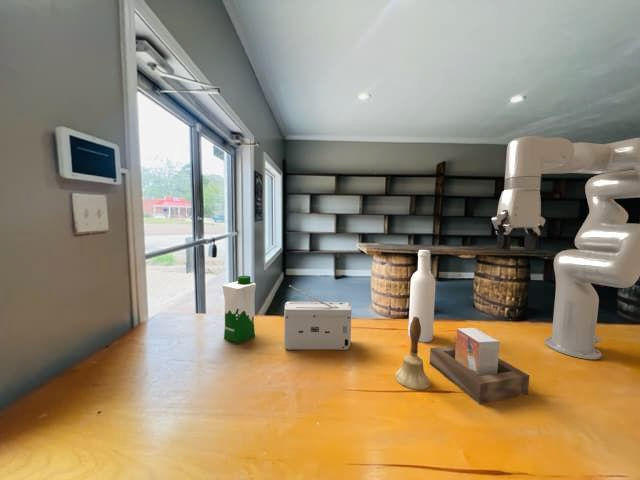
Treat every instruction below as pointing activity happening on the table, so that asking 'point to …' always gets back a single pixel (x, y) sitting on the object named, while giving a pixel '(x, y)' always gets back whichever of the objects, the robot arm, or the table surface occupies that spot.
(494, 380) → the well block
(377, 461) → the table surface
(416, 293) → the bottle
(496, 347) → the small box
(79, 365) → the table surface
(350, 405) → the table surface
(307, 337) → the stereo radio cassette player
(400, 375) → the hand bell
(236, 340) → the milk carton
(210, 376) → the table surface
